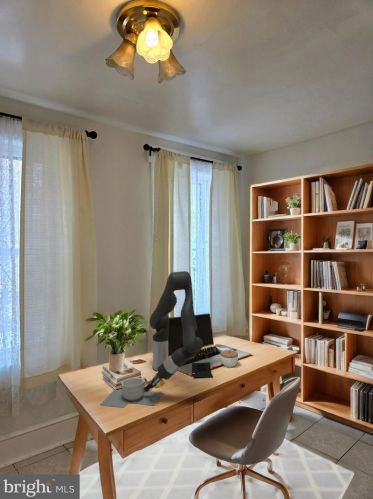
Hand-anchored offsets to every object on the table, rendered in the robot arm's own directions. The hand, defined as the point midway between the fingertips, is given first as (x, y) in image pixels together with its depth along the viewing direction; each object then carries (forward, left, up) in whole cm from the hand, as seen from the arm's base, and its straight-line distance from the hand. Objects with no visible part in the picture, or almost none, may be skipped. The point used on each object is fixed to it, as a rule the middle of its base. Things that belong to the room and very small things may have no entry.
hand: (145, 390), depth 154 cm
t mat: (0, -6, -4) cm, 7 cm away
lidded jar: (-49, +37, -4) cm, 61 cm away
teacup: (0, -5, -4) cm, 6 cm away
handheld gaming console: (-32, +23, -4) cm, 39 cm away
